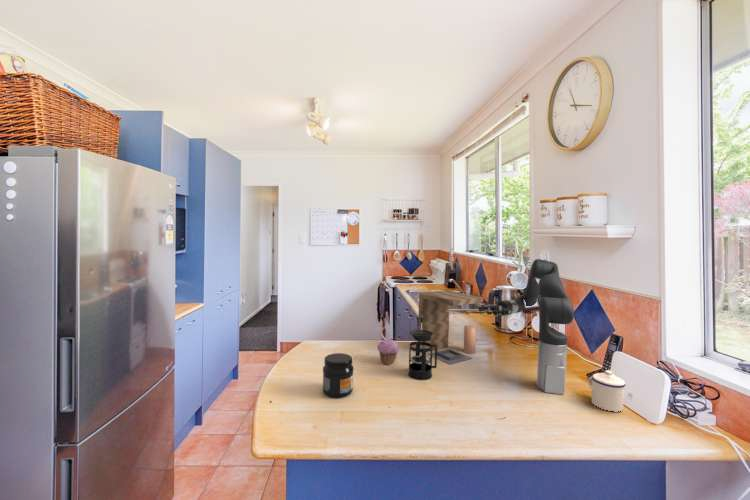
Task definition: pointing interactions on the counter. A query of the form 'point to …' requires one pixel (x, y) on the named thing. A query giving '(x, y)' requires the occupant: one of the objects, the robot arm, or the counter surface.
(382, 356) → the cupcake
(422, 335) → the french press
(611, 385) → the teacup with lid
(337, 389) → the supplement container
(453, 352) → the grey square plate
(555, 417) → the counter surface
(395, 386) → the counter surface
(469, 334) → the canister
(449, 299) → the wooden side table
